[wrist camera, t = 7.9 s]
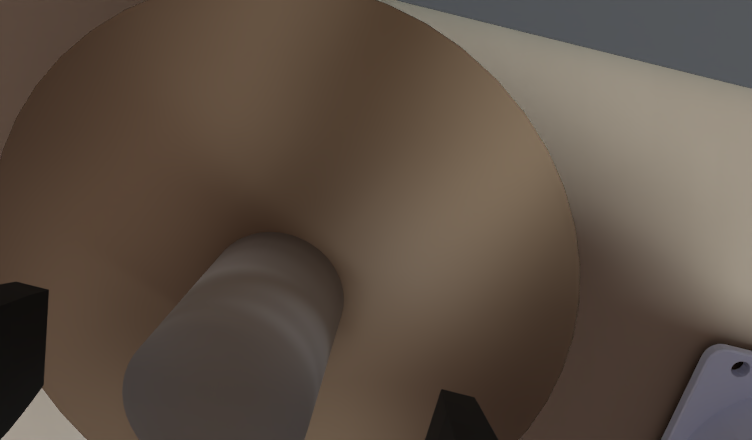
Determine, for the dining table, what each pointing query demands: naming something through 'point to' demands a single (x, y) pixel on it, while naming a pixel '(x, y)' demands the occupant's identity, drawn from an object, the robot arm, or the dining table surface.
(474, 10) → the mat
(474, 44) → the dining table surface
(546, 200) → the lid
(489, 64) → the dining table surface
